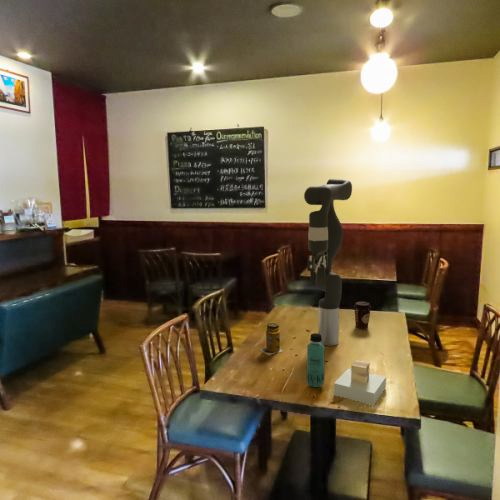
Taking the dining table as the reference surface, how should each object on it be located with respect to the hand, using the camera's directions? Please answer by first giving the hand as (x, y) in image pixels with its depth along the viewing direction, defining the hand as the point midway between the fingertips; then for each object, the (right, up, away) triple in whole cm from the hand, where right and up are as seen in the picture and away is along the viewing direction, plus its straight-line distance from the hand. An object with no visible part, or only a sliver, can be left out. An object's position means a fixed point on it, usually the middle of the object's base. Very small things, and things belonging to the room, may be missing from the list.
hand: (317, 279), depth 166 cm
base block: (+12, -39, -16) cm, 44 cm away
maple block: (+12, -35, -17) cm, 40 cm away
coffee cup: (+30, -28, +49) cm, 64 cm away
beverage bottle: (-3, -39, -12) cm, 41 cm away
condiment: (-17, -34, +22) cm, 44 cm away
